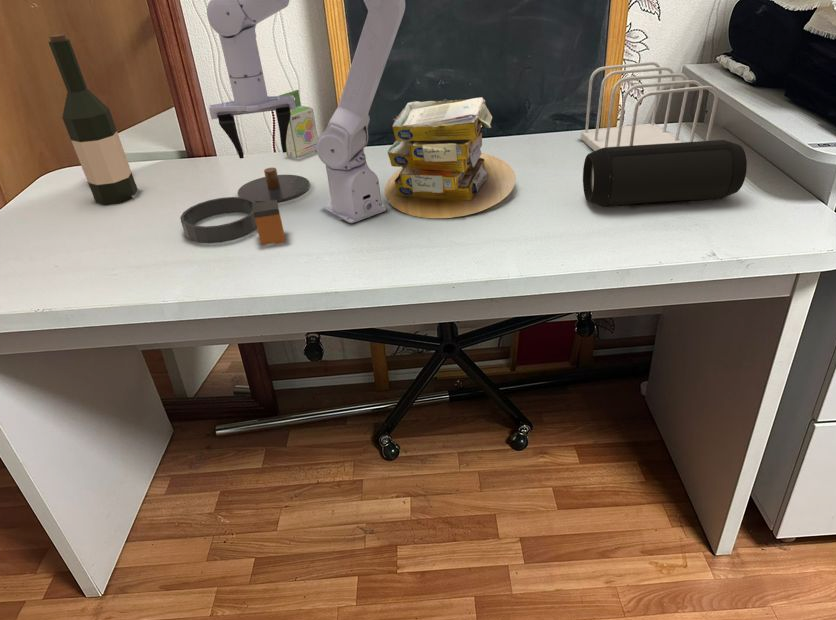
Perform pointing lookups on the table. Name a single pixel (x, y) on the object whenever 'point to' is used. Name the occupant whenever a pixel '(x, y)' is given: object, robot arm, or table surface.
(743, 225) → the table surface
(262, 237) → the spice jar
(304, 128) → the ink box
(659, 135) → the file sorter
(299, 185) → the lid
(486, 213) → the table surface
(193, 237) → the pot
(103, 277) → the table surface
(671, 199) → the portable speaker
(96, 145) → the wine bottle
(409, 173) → the stacked yellow boxes
